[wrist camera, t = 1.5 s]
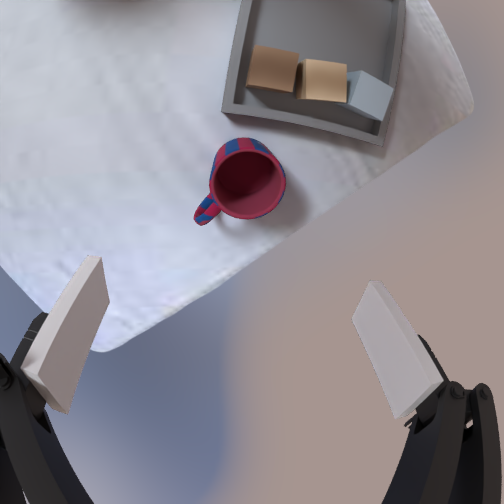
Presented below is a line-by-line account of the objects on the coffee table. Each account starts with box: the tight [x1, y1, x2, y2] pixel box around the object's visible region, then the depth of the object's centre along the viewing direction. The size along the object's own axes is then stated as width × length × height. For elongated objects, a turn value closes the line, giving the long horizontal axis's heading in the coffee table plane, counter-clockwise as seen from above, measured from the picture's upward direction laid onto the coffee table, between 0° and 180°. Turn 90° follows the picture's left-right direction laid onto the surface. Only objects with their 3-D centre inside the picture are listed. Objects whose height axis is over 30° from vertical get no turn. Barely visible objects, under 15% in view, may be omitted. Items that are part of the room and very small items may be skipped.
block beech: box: [296, 59, 347, 103], centre depth 22 cm, size 4×4×4 cm
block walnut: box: [245, 45, 299, 94], centre depth 21 cm, size 4×4×4 cm
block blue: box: [335, 70, 393, 121], centre depth 23 cm, size 4×4×4 cm
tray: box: [221, 0, 406, 147], centre depth 20 cm, size 22×18×2 cm
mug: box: [194, 138, 286, 226], centre depth 26 cm, size 7×10×7 cm
